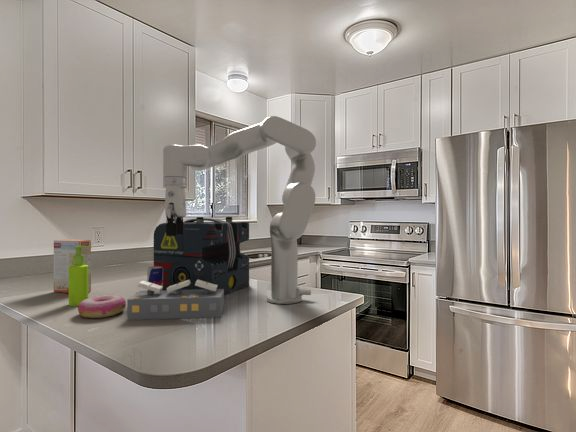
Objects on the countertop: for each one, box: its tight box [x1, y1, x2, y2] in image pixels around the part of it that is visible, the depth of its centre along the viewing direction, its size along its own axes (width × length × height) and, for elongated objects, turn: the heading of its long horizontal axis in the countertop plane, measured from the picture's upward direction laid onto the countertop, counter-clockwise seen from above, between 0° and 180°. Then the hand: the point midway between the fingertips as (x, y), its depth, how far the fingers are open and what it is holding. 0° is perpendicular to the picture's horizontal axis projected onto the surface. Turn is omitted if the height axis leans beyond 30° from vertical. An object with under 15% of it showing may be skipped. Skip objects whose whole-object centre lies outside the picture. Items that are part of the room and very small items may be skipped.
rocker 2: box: [167, 279, 191, 292], centre depth 112 cm, size 7×4×1 cm, turn 96°
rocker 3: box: [195, 280, 218, 291], centre depth 113 cm, size 7×4×1 cm, turn 96°
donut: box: [77, 294, 127, 319], centre depth 111 cm, size 14×13×5 cm
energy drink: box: [146, 266, 163, 291], centre depth 127 cm, size 5×5×12 cm
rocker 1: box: [137, 280, 163, 293], centre depth 111 cm, size 7×4×1 cm, turn 96°
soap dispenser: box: [68, 246, 92, 307], centre depth 124 cm, size 6×7×20 cm
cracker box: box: [53, 239, 92, 294], centre depth 142 cm, size 14×6×21 cm, turn 69°
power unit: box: [153, 216, 250, 296], centre depth 147 cm, size 28×28×30 cm
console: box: [126, 288, 225, 321], centre depth 112 cm, size 27×12×8 cm, turn 96°
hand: (175, 235), depth 118 cm, fingers open, 9 cm apart
